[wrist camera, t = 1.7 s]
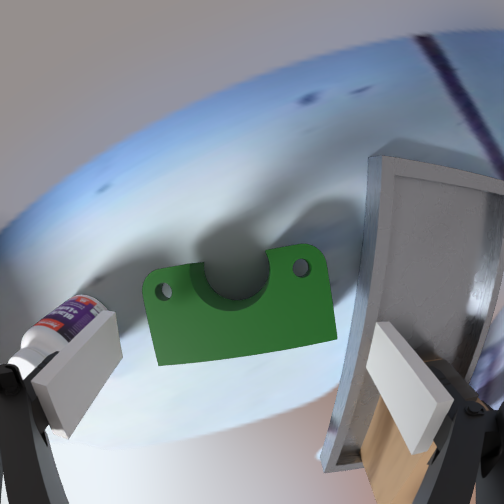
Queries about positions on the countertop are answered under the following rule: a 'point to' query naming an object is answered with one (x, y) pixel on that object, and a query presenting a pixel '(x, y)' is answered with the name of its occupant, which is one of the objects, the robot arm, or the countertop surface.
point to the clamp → (240, 311)
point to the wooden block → (401, 448)
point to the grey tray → (418, 281)
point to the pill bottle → (55, 331)
